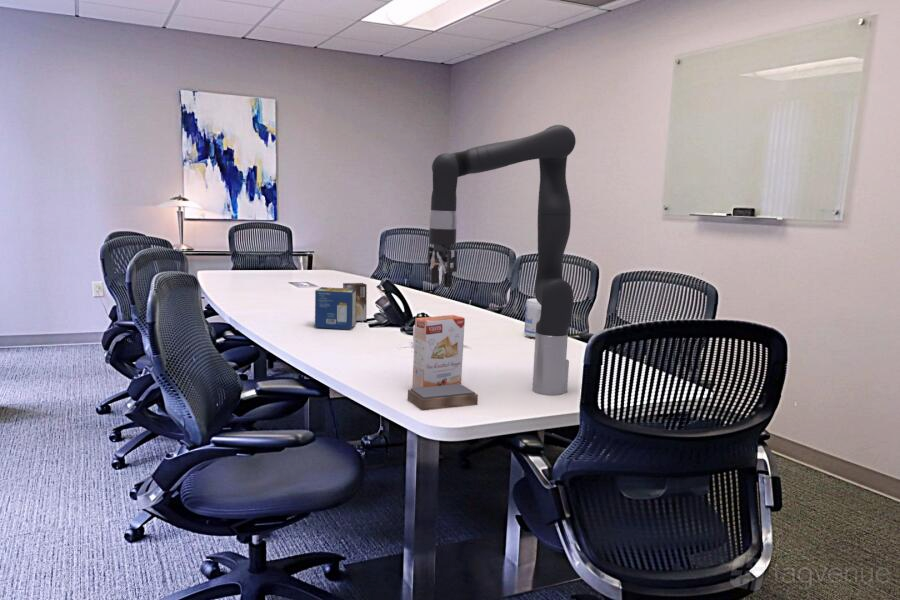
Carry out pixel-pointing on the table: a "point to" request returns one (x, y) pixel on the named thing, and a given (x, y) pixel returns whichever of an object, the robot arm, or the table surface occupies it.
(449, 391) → the podium
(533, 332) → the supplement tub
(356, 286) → the coffee box
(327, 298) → the protein box
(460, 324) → the cracker box
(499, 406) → the table surface
